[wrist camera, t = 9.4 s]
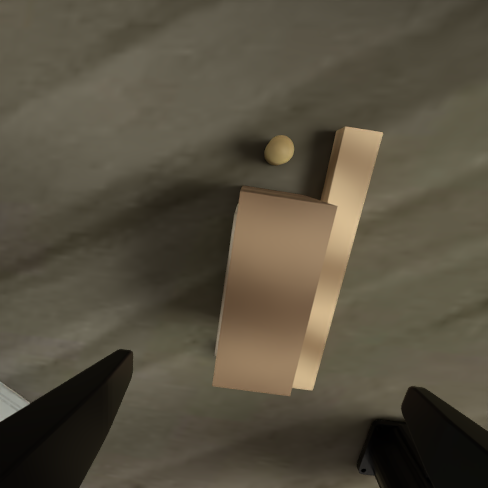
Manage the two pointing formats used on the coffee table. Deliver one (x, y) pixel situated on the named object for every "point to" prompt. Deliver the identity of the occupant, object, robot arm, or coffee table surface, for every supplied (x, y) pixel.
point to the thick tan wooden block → (269, 288)
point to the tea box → (10, 402)
